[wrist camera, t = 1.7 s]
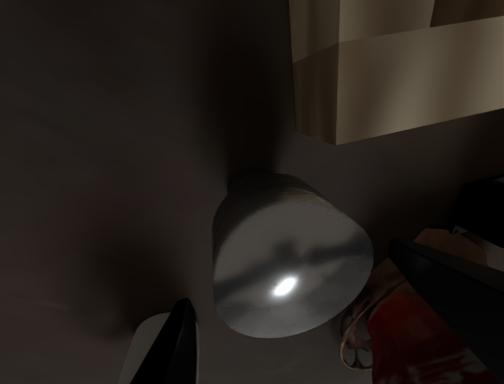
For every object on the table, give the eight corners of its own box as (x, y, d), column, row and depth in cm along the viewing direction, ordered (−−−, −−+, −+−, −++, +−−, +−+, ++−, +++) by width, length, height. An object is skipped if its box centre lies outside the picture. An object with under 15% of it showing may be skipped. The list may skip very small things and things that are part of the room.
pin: (288, 143, 15) (384, 193, 7) (293, 215, 18) (365, 311, 10) (200, 162, 14) (190, 243, 6) (221, 234, 17) (234, 354, 9)
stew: (289, 287, 22) (445, 644, 7) (483, 192, 22) (1013, 368, 7) (336, 378, 35) (427, 573, 20) (459, 319, 35) (635, 472, 20)
